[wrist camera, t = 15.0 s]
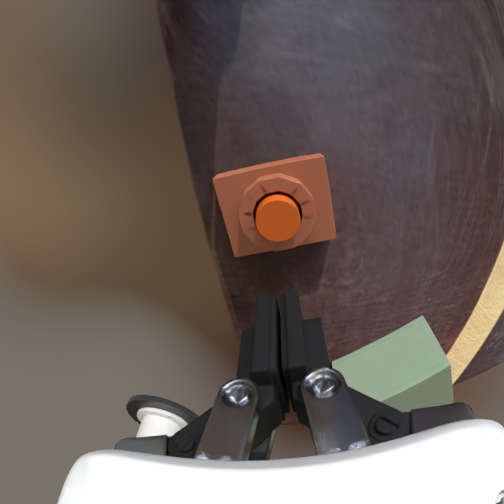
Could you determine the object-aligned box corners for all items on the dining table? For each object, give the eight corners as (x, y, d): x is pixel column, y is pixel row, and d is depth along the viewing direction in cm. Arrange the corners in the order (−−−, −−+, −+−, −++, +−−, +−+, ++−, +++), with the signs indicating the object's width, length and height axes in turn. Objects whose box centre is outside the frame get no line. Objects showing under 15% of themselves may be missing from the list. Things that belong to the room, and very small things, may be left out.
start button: (261, 237, 25) (260, 245, 23) (252, 198, 23) (250, 204, 21) (301, 229, 24) (304, 237, 22) (294, 190, 22) (296, 195, 21)
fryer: (358, 397, 41) (367, 443, 32) (331, 361, 36) (340, 417, 28) (433, 359, 36) (453, 403, 28) (422, 314, 32) (450, 364, 23)
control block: (237, 248, 29) (232, 267, 26) (216, 174, 26) (207, 183, 22) (332, 230, 28) (340, 247, 24) (319, 152, 24) (328, 158, 21)
